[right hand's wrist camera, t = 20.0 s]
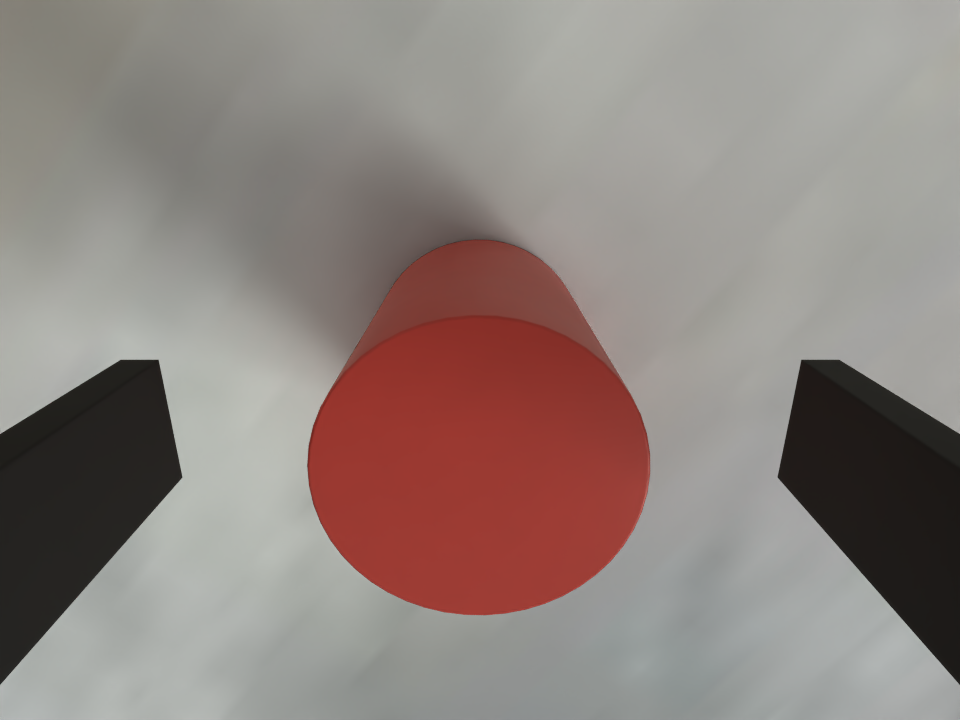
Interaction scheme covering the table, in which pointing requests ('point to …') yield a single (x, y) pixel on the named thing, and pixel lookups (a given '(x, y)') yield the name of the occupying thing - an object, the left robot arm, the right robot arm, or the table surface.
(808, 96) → the table surface
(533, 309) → the canister
